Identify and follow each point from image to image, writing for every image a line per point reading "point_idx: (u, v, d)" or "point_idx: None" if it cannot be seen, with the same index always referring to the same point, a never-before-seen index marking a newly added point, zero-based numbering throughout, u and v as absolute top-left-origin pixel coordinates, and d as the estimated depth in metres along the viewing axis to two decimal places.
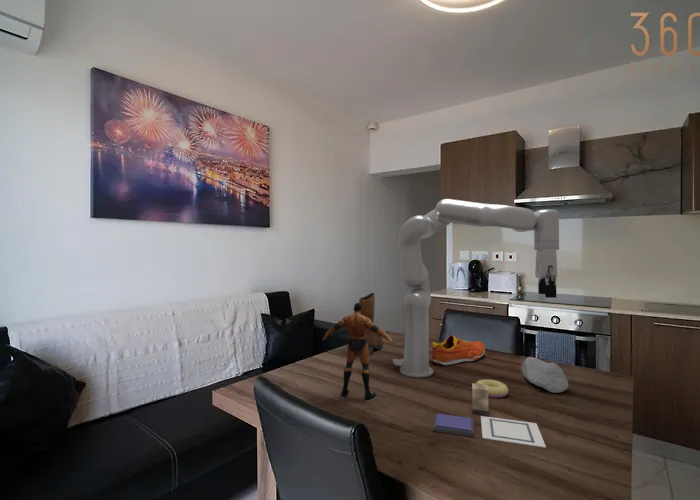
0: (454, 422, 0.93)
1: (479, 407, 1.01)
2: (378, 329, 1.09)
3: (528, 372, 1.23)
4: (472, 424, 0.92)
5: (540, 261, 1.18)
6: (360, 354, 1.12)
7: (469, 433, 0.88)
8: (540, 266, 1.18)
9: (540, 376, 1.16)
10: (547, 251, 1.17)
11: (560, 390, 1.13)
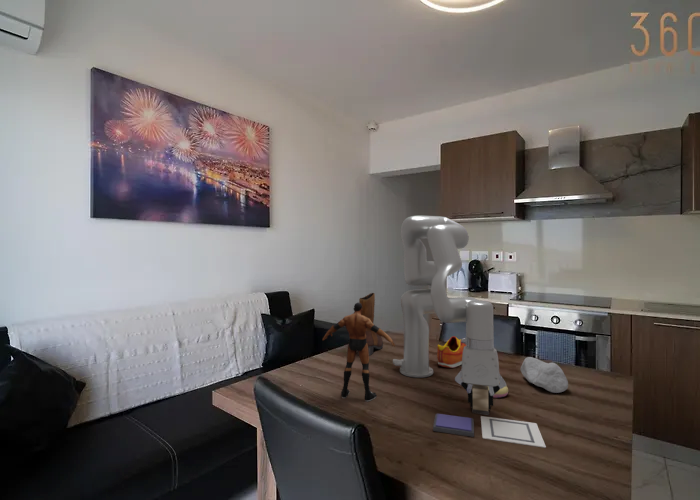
0: (454, 422, 0.93)
1: (479, 407, 1.01)
2: (378, 329, 1.09)
3: (528, 372, 1.23)
4: (472, 424, 0.92)
5: (493, 365, 0.99)
6: (360, 354, 1.12)
7: (469, 433, 0.88)
8: (493, 371, 0.99)
9: (540, 376, 1.16)
10: (496, 352, 1.00)
11: (560, 390, 1.13)
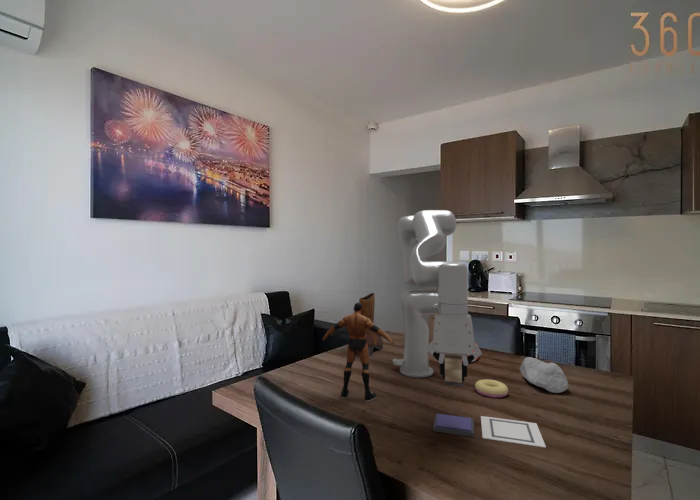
0: (454, 422, 0.93)
1: (452, 378, 0.91)
2: (378, 329, 1.09)
3: (527, 372, 1.23)
4: (472, 424, 0.92)
5: (466, 332, 0.90)
6: (360, 354, 1.12)
7: (469, 433, 0.88)
8: (467, 338, 0.90)
9: (540, 376, 1.16)
10: None
11: (561, 390, 1.13)
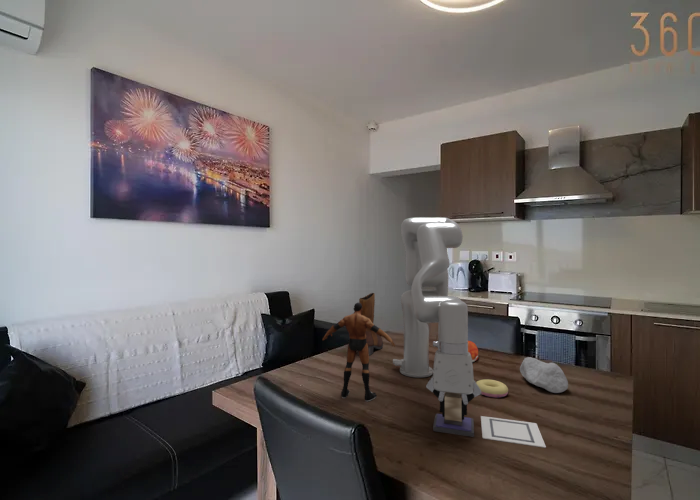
0: None
1: (452, 417, 0.92)
2: (378, 329, 1.09)
3: (527, 372, 1.23)
4: (472, 424, 0.92)
5: (466, 371, 0.90)
6: (360, 354, 1.12)
7: (469, 433, 0.88)
8: (467, 378, 0.90)
9: (541, 376, 1.16)
10: None
11: (561, 390, 1.13)
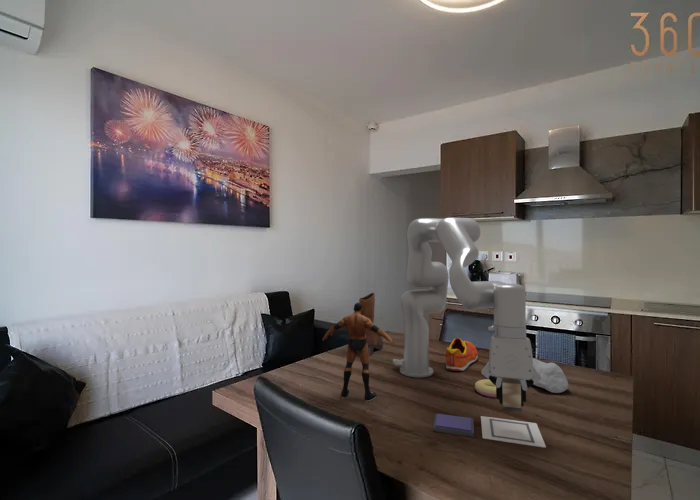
0: (454, 422, 0.93)
1: (510, 404, 0.89)
2: (378, 329, 1.09)
3: None
4: (472, 424, 0.92)
5: (526, 356, 0.87)
6: (360, 354, 1.12)
7: (469, 433, 0.88)
8: (527, 363, 0.87)
9: (541, 377, 1.15)
10: None
11: (561, 390, 1.13)
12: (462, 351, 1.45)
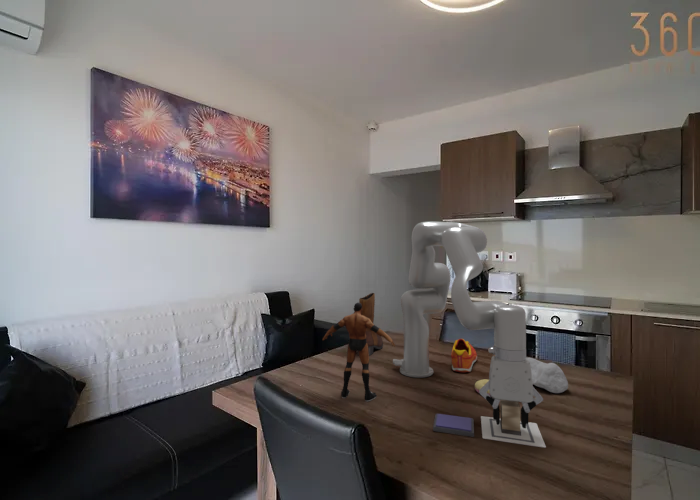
0: (454, 422, 0.93)
1: (510, 426, 0.89)
2: (378, 329, 1.09)
3: None
4: (472, 424, 0.92)
5: (526, 379, 0.87)
6: (360, 354, 1.12)
7: (469, 433, 0.88)
8: (527, 386, 0.87)
9: (541, 377, 1.15)
10: None
11: (561, 390, 1.13)
12: None
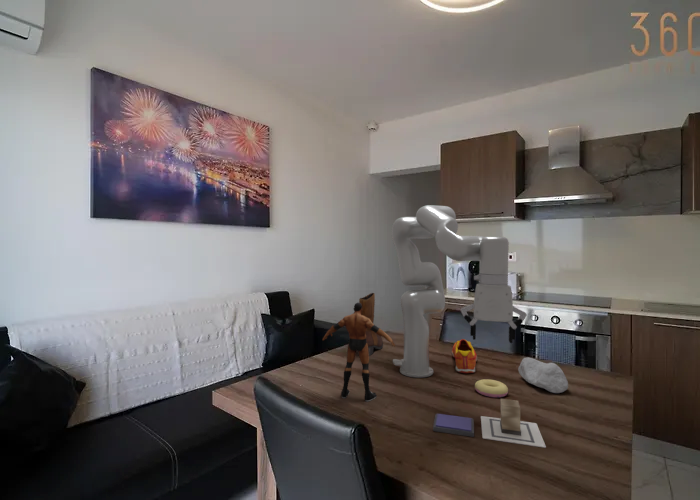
0: (454, 422, 0.93)
1: (510, 426, 0.89)
2: (378, 329, 1.09)
3: (527, 373, 1.22)
4: (472, 424, 0.92)
5: (507, 301, 0.96)
6: (360, 354, 1.12)
7: (469, 433, 0.88)
8: (507, 307, 0.96)
9: (541, 377, 1.15)
10: None
11: (561, 390, 1.13)
12: None
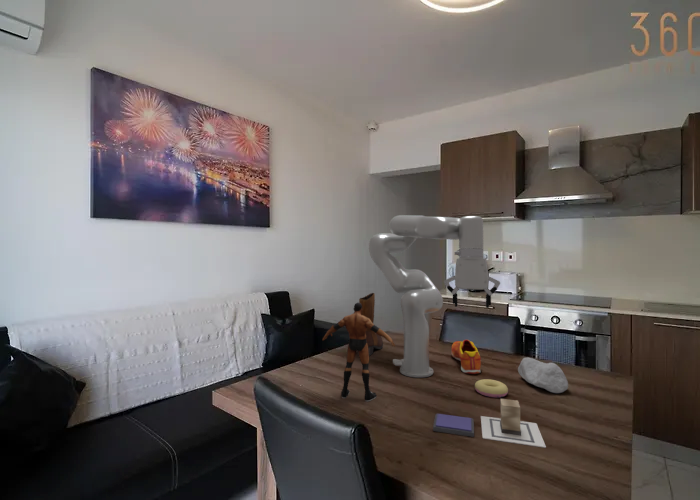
0: (454, 422, 0.93)
1: (510, 426, 0.89)
2: (378, 329, 1.09)
3: (527, 373, 1.22)
4: (472, 424, 0.92)
5: (483, 271, 1.11)
6: (360, 354, 1.12)
7: (469, 433, 0.88)
8: (483, 276, 1.11)
9: (541, 377, 1.15)
10: None
11: (561, 390, 1.13)
12: None
